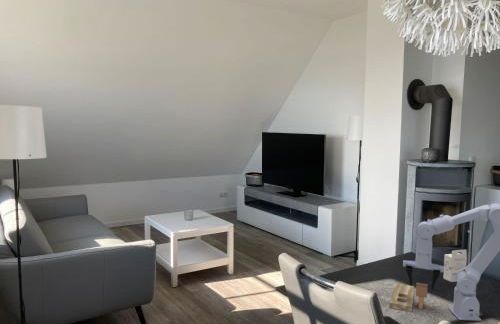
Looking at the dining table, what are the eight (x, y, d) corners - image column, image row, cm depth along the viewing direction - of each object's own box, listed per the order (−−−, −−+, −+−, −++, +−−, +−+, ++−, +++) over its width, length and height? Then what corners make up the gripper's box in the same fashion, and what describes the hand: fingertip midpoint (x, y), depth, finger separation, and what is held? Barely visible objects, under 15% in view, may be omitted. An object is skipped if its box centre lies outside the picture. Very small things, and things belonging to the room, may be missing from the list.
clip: (426, 303, 163) (427, 283, 162) (426, 310, 157) (427, 289, 156) (415, 301, 165) (416, 281, 164) (414, 308, 159) (416, 287, 158)
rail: (414, 290, 176) (414, 286, 176) (411, 311, 156) (411, 306, 156) (394, 287, 179) (394, 283, 179) (389, 307, 159) (389, 302, 159)
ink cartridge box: (457, 276, 194) (459, 246, 192) (465, 280, 189) (467, 249, 187) (442, 278, 191) (444, 247, 190) (450, 282, 186) (452, 250, 185)
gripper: (444, 252, 160) (441, 286, 161) (404, 247, 166) (402, 279, 167) (444, 257, 153) (442, 292, 155) (403, 252, 159) (401, 285, 160)
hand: (421, 286), depth 160 cm, fingers open, 7 cm apart
